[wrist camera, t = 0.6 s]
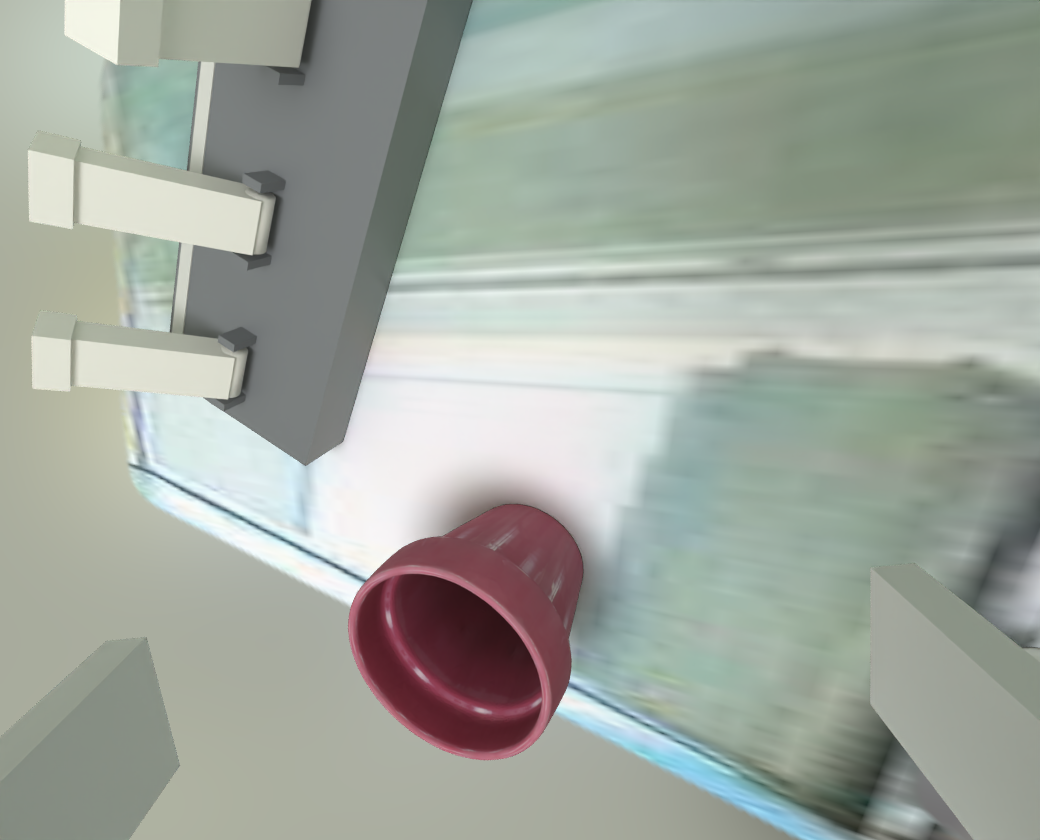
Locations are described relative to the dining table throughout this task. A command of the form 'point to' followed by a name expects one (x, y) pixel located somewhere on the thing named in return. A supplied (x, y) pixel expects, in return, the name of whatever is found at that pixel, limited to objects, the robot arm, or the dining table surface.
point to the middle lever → (143, 198)
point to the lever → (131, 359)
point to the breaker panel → (315, 206)
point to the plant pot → (472, 631)
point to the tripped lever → (191, 30)
